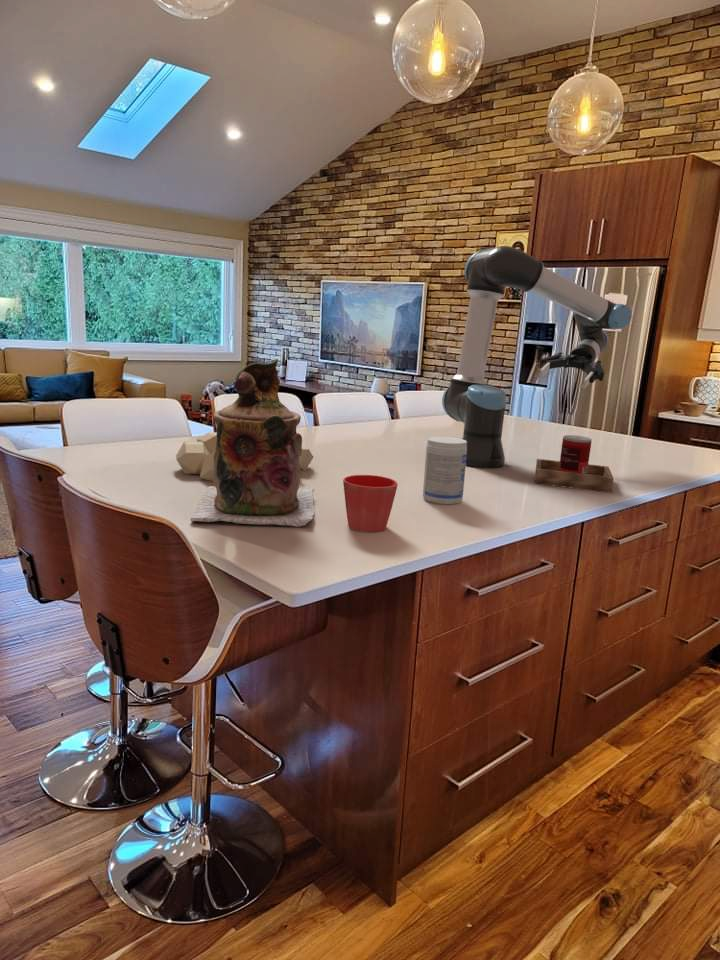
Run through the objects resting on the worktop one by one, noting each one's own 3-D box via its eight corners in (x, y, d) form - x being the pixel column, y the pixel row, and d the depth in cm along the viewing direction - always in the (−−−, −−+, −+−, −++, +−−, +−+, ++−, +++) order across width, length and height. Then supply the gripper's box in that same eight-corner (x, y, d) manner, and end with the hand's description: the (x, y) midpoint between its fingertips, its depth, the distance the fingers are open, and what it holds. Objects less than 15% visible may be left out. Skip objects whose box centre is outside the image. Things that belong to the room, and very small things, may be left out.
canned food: (582, 474, 185) (588, 436, 183) (589, 480, 178) (595, 441, 175) (555, 471, 186) (560, 434, 183) (561, 478, 178) (566, 439, 176)
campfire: (209, 452, 192) (210, 395, 188) (321, 462, 188) (323, 404, 184) (157, 479, 158) (156, 410, 154) (291, 492, 154) (294, 421, 150)
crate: (534, 483, 177) (536, 469, 176) (535, 471, 192) (537, 458, 191) (611, 492, 172) (613, 478, 171) (606, 479, 187) (608, 466, 186)
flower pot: (366, 515, 138) (369, 471, 136) (404, 529, 131) (408, 482, 128) (329, 524, 131) (332, 477, 129) (367, 538, 123) (371, 490, 121)
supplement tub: (468, 505, 151) (474, 444, 147) (429, 506, 149) (435, 443, 145) (453, 494, 160) (459, 436, 157) (416, 494, 158) (421, 435, 154)
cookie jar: (207, 492, 149) (208, 351, 141) (314, 496, 151) (320, 358, 143) (187, 525, 125) (186, 358, 117) (314, 530, 127) (322, 366, 119)
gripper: (621, 373, 207) (601, 399, 192) (545, 357, 218) (521, 381, 204) (625, 351, 203) (606, 376, 188) (549, 336, 214) (524, 358, 200)
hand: (562, 379), depth 196 cm, fingers open, 13 cm apart
